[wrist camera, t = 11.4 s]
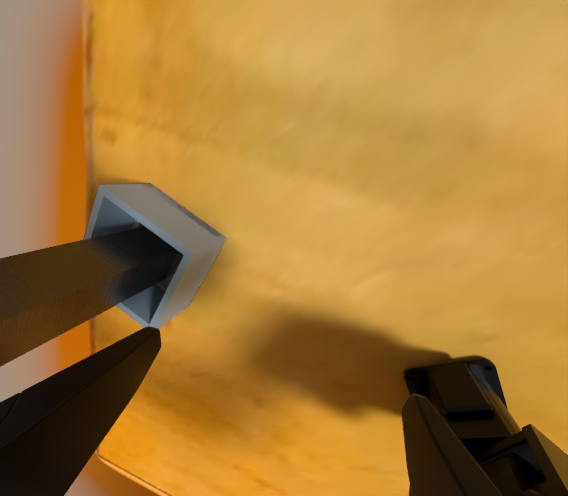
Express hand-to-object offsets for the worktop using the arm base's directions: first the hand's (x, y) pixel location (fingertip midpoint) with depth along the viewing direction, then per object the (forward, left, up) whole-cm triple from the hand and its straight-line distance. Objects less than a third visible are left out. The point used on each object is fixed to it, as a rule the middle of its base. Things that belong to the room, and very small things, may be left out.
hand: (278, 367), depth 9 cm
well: (+5, +14, -13) cm, 20 cm away
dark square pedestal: (+6, +14, -12) cm, 19 cm away
